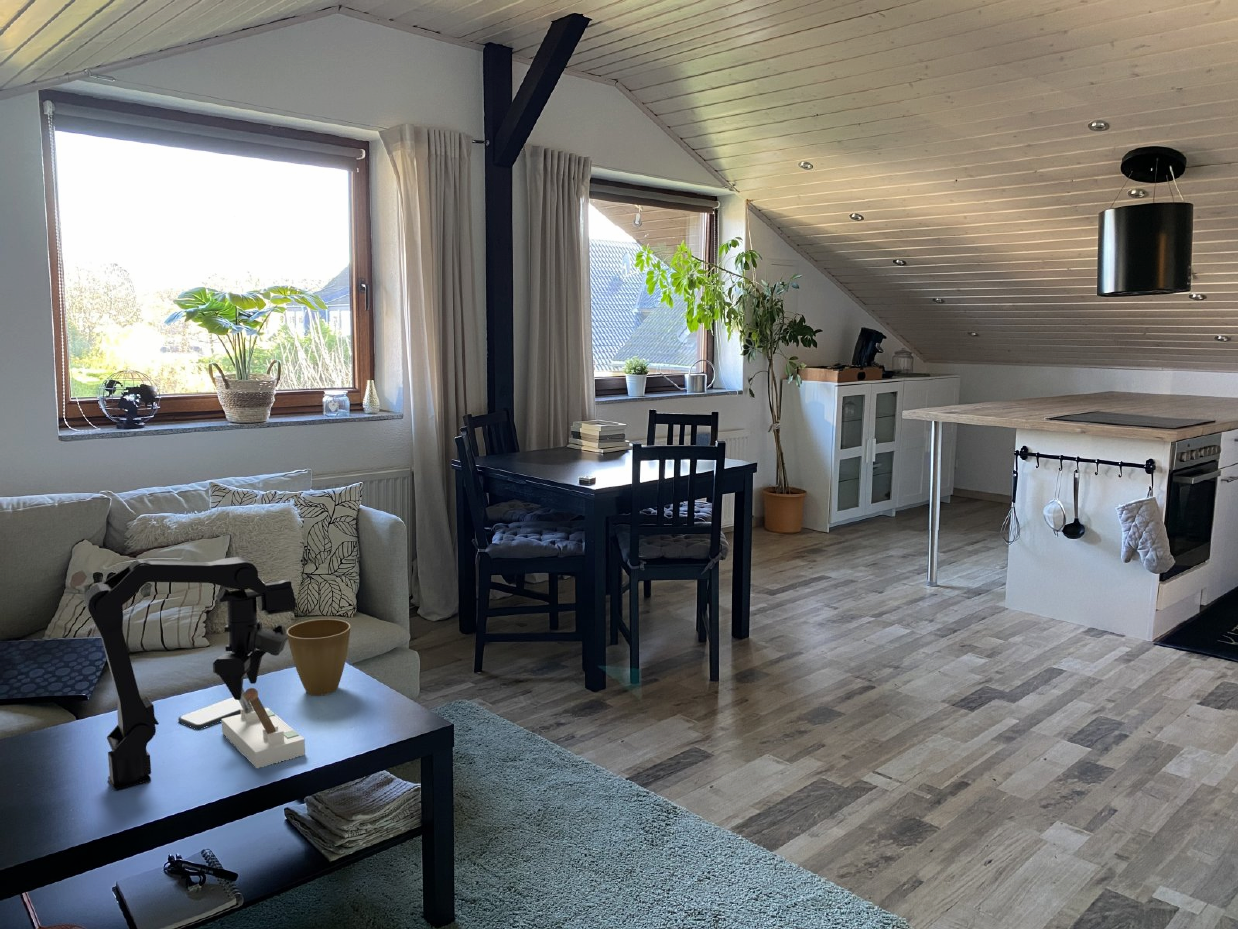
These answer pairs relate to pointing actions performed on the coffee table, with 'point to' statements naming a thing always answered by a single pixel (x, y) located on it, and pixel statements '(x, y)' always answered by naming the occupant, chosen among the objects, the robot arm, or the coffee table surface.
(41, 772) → the coffee table surface
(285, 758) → the switch panel
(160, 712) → the coffee table surface
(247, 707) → the grey lever
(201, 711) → the phone case
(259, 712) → the walnut lever
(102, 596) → the robot arm
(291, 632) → the plant pot
